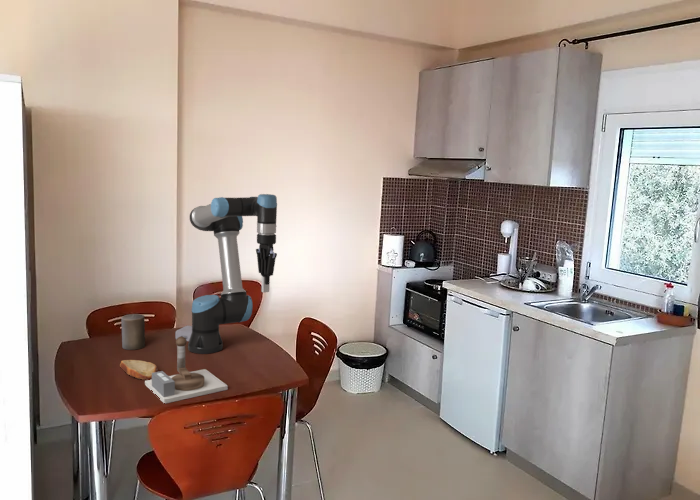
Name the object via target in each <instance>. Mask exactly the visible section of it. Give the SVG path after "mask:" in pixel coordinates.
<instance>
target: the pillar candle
mask: <svg viewBox="0 0 700 500" xmlns="http://www.w3.org/2000/svg"><path fill="white" fill-rule="evenodd" d="M120 319H121V320H120V321H121V345H122V349H124V350H130V351H133V350H140V349H144V348H145V347H146V336H145V333H146V330H145V323H146V322H145V315H143V314H140V313H132V314H130V313H129V314H126V315H123V316H121V318H120Z"/></svg>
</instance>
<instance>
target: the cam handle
mask: <svg viewBox="0 0 700 500" xmlns="http://www.w3.org/2000/svg"><path fill="white" fill-rule="evenodd" d="M187 342H188V341H187V340H186V338H184V337H178V338H177V339H176V338H175V345H176V357H177V359H176V360H177V361H176V370H177V374H178V375H177V374H174V375H175V376H173V377H172V378H171V379H172V380H173V381H175V389H177V390H193V389H197V388H200V387H202V386H203V385H204V376H203V375H201V374H198V373H190V372H191V371H189V370H188V369H187V367H186V345H187V344H188V343H187Z"/></svg>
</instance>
